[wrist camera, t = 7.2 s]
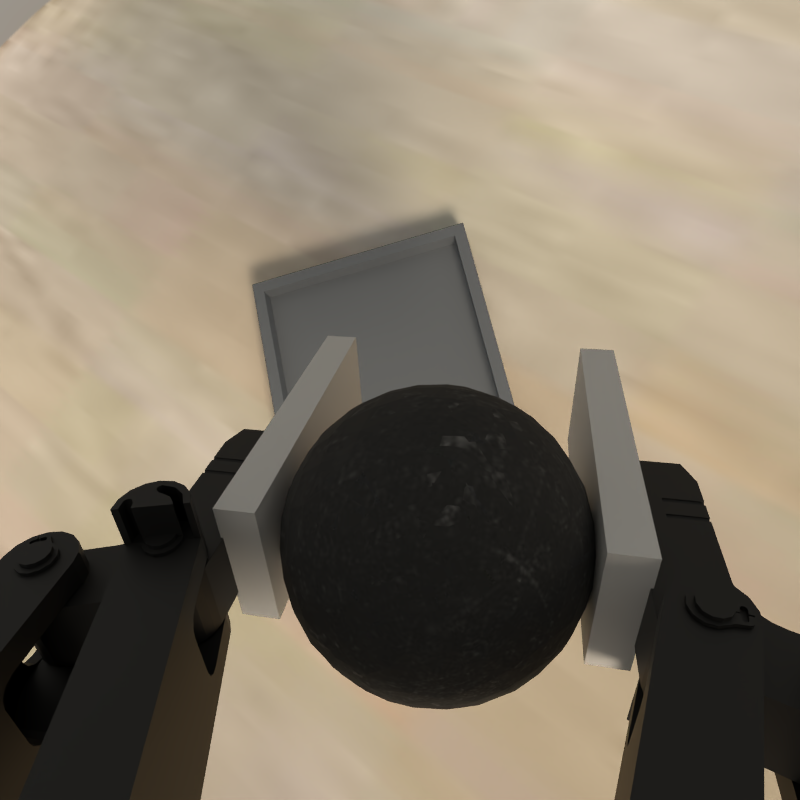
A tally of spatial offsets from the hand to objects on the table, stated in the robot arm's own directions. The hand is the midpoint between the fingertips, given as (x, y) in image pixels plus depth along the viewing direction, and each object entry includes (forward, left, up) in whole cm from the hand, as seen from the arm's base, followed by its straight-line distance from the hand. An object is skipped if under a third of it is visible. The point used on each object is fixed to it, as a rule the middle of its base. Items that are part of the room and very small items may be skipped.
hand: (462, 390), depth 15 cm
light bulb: (+1, +4, -4) cm, 5 cm away
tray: (+4, -6, -16) cm, 17 cm away
